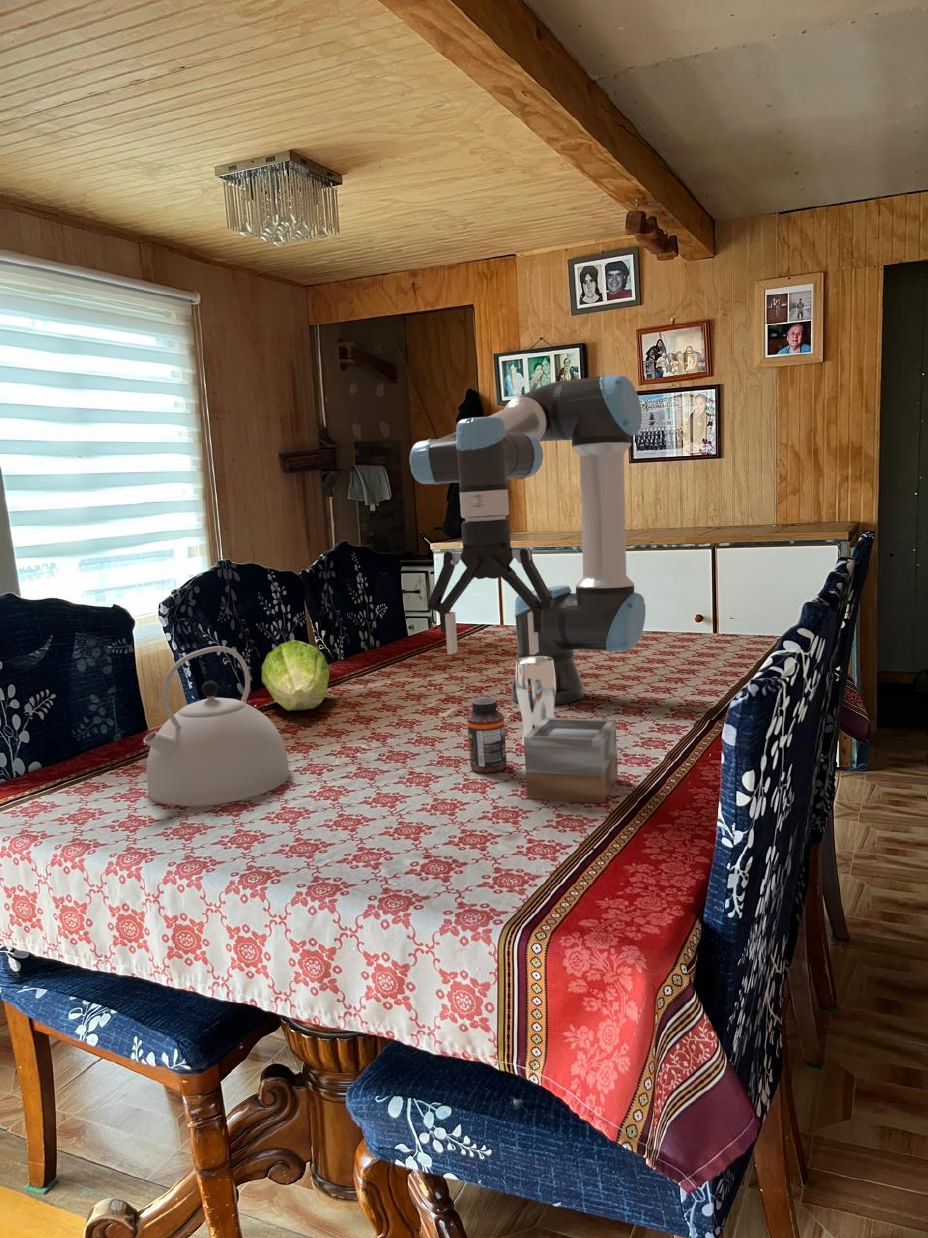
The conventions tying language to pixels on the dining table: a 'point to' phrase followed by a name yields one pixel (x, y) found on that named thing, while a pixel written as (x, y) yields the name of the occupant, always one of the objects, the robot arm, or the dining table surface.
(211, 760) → the kettle
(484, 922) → the dining table surface
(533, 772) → the wooden box
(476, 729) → the supplement bottle
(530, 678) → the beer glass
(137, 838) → the dining table surface
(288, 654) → the lettuce
